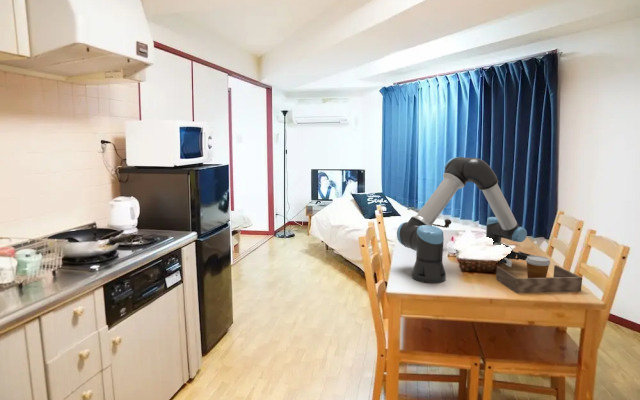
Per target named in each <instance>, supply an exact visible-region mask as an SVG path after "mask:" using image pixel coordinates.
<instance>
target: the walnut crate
mask: <svg viewBox="0 0 640 400" xmlns="http://www.w3.org/2000/svg"><path fill="white" fill-rule="evenodd" d="M495 279H496V280H497V281H498V282H500V283H501V284H502V285H503V286H505V287H506V288H508V289H510V290H511V291H512V292H514V293H515V294H533V293H537V294H538V293H568V292H569V293H571V292H572V293H573V292H574V293H575V292H577V293H578V292H582V286H583V277H582V276H580V275H577V274H575V273H574V272H572V271H569V270H567V269H566V268H563V267H561V266H559V265H556V264H555V265H554V266H553V276H552V277H546V278H528V277H517V276H516V275H513V274H511V272H509V271H507V270H506V269H504V268H502V267H501V266H496V276H495Z"/></svg>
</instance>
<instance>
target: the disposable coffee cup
mask: <svg viewBox="0 0 640 400" xmlns="http://www.w3.org/2000/svg"><path fill="white" fill-rule="evenodd" d="M531 255H532V256H527V259H526V260H525V262H526V270H527V272H526V275H527V278H547V275H548V271H549V268H550V265H551V261H550V258H549V257H546V256H542V255H535V254H531Z"/></svg>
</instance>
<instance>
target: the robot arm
mask: <svg viewBox="0 0 640 400" xmlns="http://www.w3.org/2000/svg"><path fill="white" fill-rule="evenodd" d="M442 177H443V180H442V181H441V182H440V183H439V185H438V186H437V187H436V189H435V190H434V192H433V193H432V194H431V195H430V197H429V198H428V200H427V201H426V202H425V203H424V205H423V206H422V207H421V209H420V210H419V211H418V213H417V214H416V215H414V216H411V218H409V220H408V221H406V222H402V223H400V225H399V226H398V227H397V231H396V240H397V241H398V243H399V244H400V245H402V246H404V247H405V248H408V249H410V250H413V251H414V252H415V251H416V255H415V262H414V265H413V268H412V270H411V278H412V279H413V280H414V281H418V282H421V283H430V284H438V283H443V282H445V281H446V278H447V274H446V270H445V267H444V264H443V256H444V242H445V241H444V240H445V237H444V231H443V230H442V229H441V227H439V226H434V225H432V224H434V223H435V222H436V220H437V219H438V217H439V216H440V215H441V214H442V212H443V211H444V209H445V208H446V206H447V205H448V204H449V203H450V201H451V199H452V198H453V197H454V195H455V194H456V193H457V191H458V190H459V189H463V188H464V187H465V186H466V185H467V183H468V182H469V183H473V184H474V185H476V187H477V188H478V190H480V191H482V193H483V195H484V198H485V199H486V201H487V202H488V205H489V207H490V209H491V211H492V212H493V214H494V216H488V218H487V220H486V229H485V230H486V231H485V232H486V233H485V238H486V237H489V238H492V239H493V241H494V242H493V245H501V244H503V245H505V246H506V247H510V246H509V245H507V244H505V243H503V242H502V239H506V240H508V241H512V242H517V243H522V242H524V241H525V240H526V238H527V236H528V233H527V230H526V228H524V227H523V226H519V223H518V222H517V220H516V218H515V215H514V214H513V212H512V210H511V208H510V206H509V204H508V201H507V200H506V198H505V196H504V194H503V191H502V190H501V187H500V186H499V184H498V183H499V179H498V177H497V174H496V173H495V172H494V170H493V169H492V168H491V166H490V165H489V164H488V163H487V162H486V161H484V160H483V159H481V158H478V157H463V156H458V157H457V156H456V157H452V158H450V159H448V161H446V163H445V164H444V170H443V175H442ZM532 255H533V254H530V253H527V252H522V251H517V252H516V251H514V250H513V249H512V251H511V253H510V254H508V255H507V256H506V257H504V258H503V259H501V260H500V261H499V265H503V264H504V265H506V266H507V267H510V268H512V267H513V261H512V260H517V261H519V260H522V261H526V259H527V256H532Z"/></svg>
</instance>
